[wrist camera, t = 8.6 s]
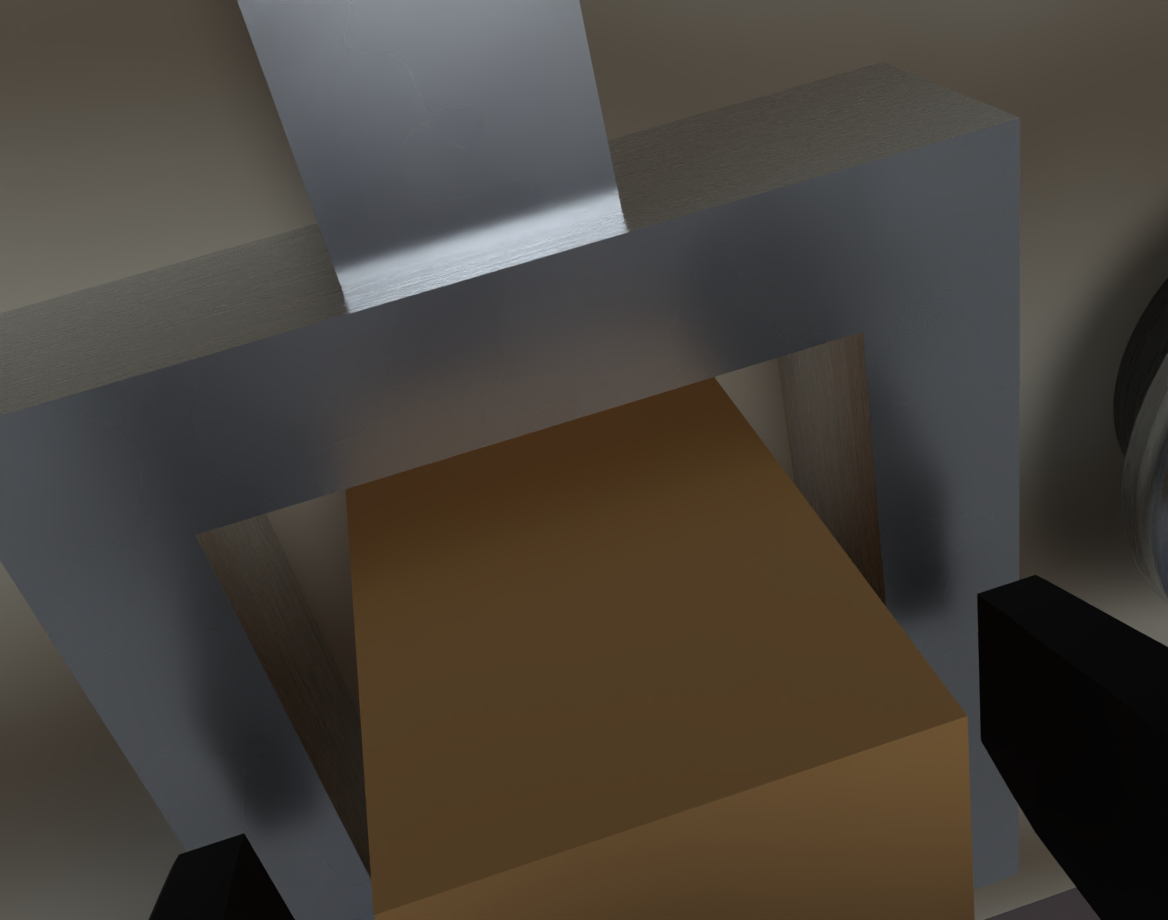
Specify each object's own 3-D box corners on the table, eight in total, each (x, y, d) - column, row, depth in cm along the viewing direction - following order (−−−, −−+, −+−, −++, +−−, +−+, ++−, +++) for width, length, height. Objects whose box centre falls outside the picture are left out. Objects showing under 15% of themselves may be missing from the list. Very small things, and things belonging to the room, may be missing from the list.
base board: (1380, 725, 21) (1426, 764, 20) (-347, 1324, 18) (-379, 1398, 17) (1697, -508, 11) (1814, -536, 10) (-1865, 411, 9) (-2099, 475, 8)
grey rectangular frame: (1416, 573, 17) (1737, 789, 13) (343, 934, 16) (357, 1289, 12) (1691, -505, 10) (2530, -703, 6) (-186, -20, 9) (-557, 97, 5)
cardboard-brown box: (749, 668, 15) (980, 1105, 10) (466, 760, 15) (554, 1261, 9) (690, 345, 12) (967, 716, 7) (343, 450, 12) (374, 914, 7)
